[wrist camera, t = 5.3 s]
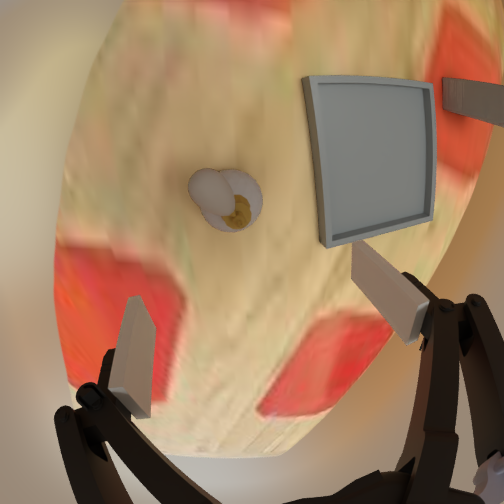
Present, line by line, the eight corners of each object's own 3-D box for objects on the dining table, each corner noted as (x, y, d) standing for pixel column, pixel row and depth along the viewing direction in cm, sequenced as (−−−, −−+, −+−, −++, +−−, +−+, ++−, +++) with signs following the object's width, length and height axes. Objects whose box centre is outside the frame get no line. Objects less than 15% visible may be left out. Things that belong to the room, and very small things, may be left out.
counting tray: (301, 78, 30) (309, 76, 28) (422, 83, 32) (432, 83, 30) (319, 241, 42) (326, 248, 40) (424, 215, 44) (432, 220, 41)
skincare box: (465, 86, 33) (530, 96, 19) (465, 120, 36) (530, 138, 22) (439, 75, 31) (512, 81, 18) (440, 112, 35) (513, 128, 21)
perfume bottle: (240, 227, 38) (259, 273, 28) (174, 201, 35) (165, 240, 24) (265, 179, 36) (296, 208, 25) (197, 148, 32) (198, 163, 22)
